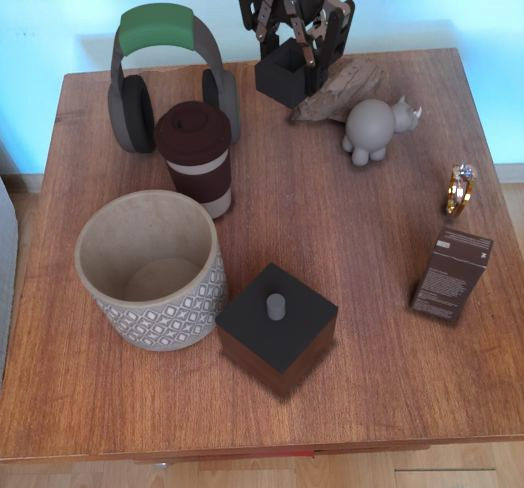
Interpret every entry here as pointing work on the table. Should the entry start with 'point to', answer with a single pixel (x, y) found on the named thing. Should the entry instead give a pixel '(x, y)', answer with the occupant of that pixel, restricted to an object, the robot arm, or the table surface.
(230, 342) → the stand
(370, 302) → the table surface
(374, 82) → the stone
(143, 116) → the headphones
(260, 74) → the top pad
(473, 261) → the box
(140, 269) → the planter
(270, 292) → the base pad
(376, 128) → the chubby cartoon animal
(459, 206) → the ring
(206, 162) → the coffee cup
